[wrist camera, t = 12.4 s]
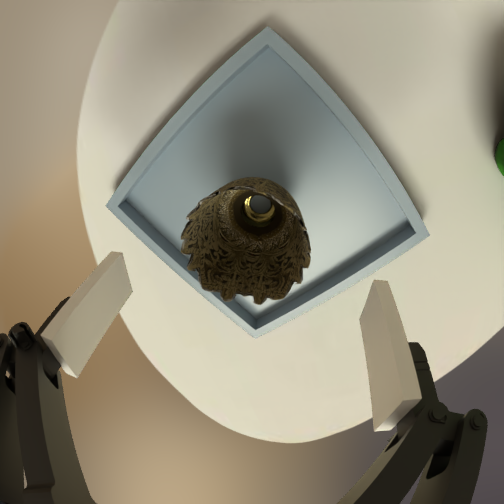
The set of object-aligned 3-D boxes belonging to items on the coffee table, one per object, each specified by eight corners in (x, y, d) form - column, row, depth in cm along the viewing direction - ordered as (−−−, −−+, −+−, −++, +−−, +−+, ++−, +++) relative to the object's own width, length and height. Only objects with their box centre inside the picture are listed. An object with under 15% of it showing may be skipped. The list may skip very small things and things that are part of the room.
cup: (312, 164, 20) (321, 199, 13) (301, 248, 24) (300, 313, 17) (215, 155, 21) (174, 186, 14) (215, 239, 25) (184, 296, 18)
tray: (270, 32, 15) (267, 26, 14) (421, 224, 21) (429, 235, 20) (116, 197, 24) (105, 205, 23) (257, 325, 30) (255, 338, 29)
